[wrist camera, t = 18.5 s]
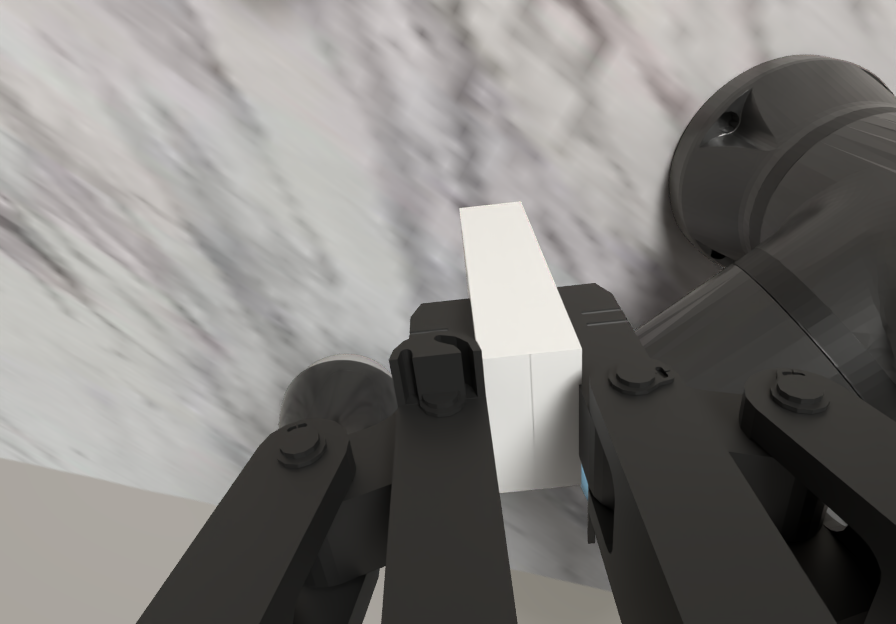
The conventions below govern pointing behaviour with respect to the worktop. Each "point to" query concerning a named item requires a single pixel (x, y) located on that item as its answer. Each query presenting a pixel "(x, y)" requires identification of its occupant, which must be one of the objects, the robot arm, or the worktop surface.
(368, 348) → the worktop surface
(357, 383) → the pump dispenser
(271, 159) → the worktop surface
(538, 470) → the robot arm
